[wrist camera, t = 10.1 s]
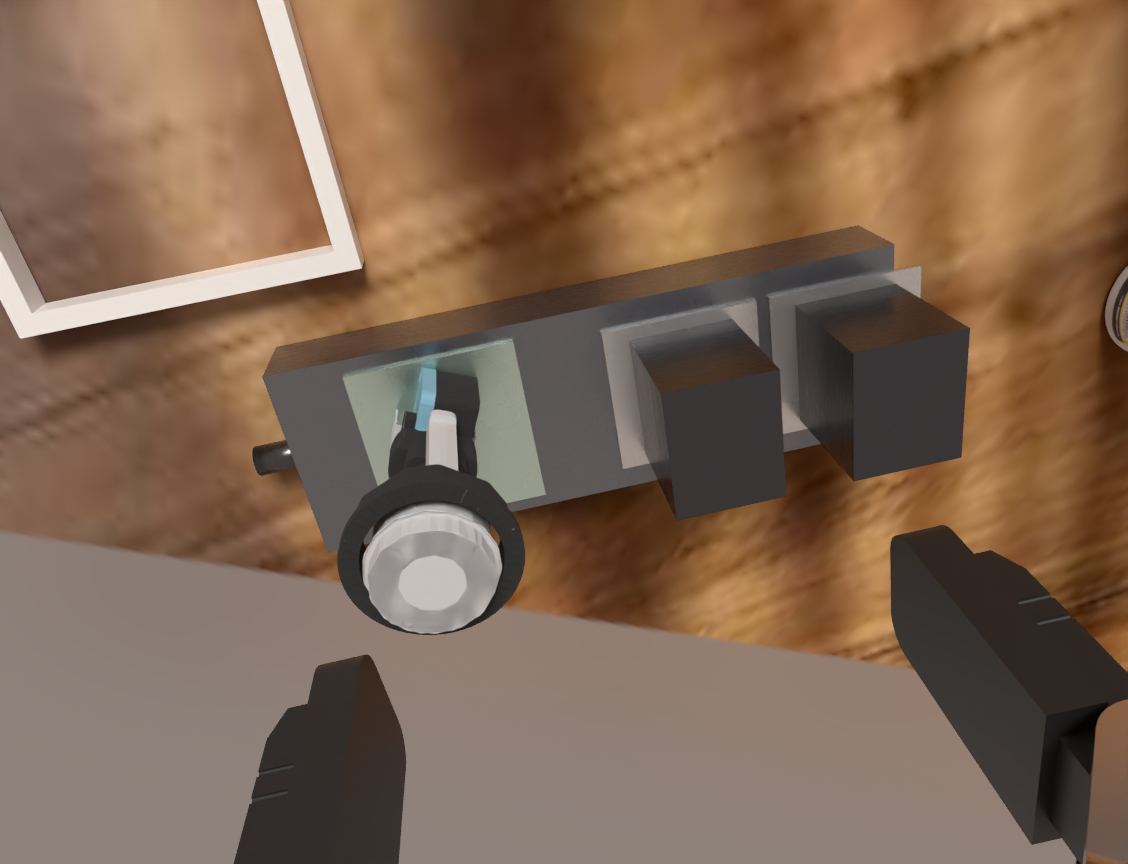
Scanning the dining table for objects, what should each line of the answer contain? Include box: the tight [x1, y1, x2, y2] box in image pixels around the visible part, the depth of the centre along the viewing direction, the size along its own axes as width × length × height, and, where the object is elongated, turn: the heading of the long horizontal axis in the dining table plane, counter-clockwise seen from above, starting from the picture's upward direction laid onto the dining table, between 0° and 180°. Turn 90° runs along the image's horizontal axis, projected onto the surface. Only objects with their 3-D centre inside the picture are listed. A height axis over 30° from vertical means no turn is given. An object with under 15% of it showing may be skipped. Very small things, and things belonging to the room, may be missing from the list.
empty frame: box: [0, 0, 364, 339], centre depth 28 cm, size 13×13×1 cm
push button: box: [338, 367, 525, 635], centre depth 28 cm, size 7×5×10 cm
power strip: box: [253, 226, 970, 552], centre depth 32 cm, size 27×8×8 cm, turn 100°
